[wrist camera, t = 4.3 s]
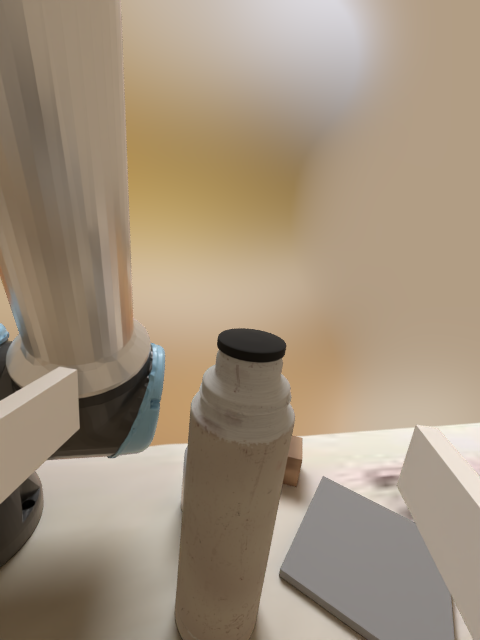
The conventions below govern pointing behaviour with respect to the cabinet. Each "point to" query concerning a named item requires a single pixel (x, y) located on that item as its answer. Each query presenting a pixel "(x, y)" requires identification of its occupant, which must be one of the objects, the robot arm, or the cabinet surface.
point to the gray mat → (368, 568)
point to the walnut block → (293, 462)
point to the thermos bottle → (232, 486)
